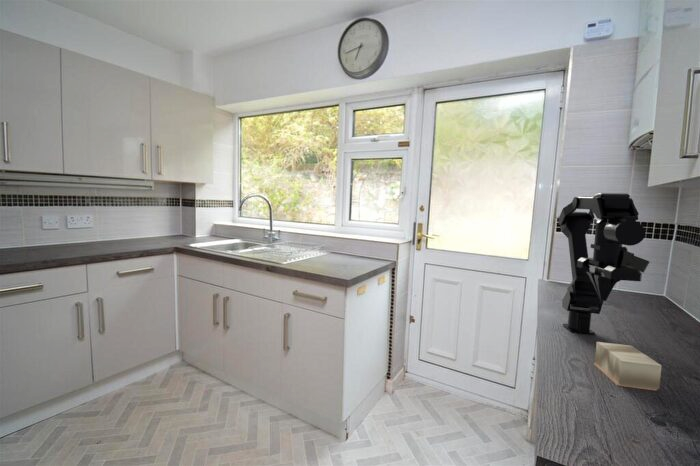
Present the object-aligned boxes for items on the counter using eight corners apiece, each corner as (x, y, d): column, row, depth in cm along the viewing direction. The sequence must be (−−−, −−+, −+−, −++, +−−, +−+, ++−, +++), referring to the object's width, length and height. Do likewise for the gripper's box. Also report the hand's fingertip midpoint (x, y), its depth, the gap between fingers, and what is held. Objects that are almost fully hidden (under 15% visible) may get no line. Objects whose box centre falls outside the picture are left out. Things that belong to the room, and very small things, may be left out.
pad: (593, 364, 76) (593, 362, 76) (628, 368, 75) (628, 367, 75) (616, 385, 67) (616, 384, 67) (656, 390, 65) (656, 389, 65)
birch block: (596, 341, 76) (621, 360, 67) (631, 345, 75) (661, 365, 65) (594, 362, 77) (619, 384, 67) (629, 366, 75) (659, 389, 65)
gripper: (672, 247, 72) (665, 314, 74) (623, 240, 90) (617, 294, 92) (615, 244, 75) (609, 310, 76) (578, 238, 93) (573, 290, 94)
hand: (602, 300), depth 84 cm, fingers closed
